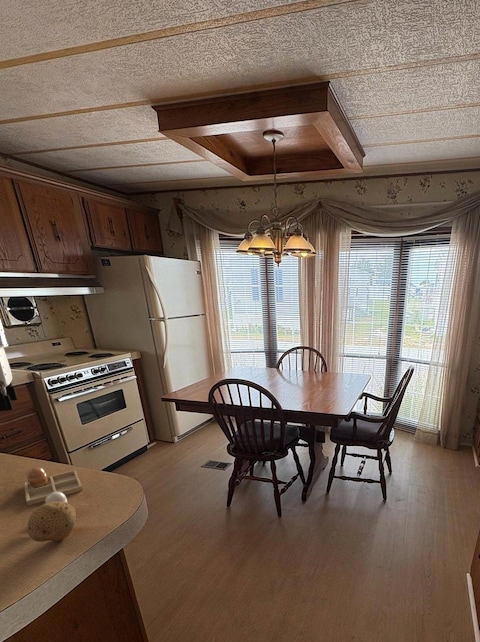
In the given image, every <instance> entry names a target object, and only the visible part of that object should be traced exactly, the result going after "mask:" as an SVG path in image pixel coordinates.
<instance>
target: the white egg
mask: <svg viewBox="0 0 480 642" xmlns="http://www.w3.org/2000/svg"><path fill="white" fill-rule="evenodd" d="M55 501H59V502H64V503H67V504H69V501H68V498H67V495H64V494H63V493H61V492H52V493H50V494H49V495H48V496H47V497H46V499H45V501H44V504H46V503H50V502H55Z"/></svg>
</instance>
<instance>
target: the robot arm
mask: <svg viewBox="0 0 480 642" xmlns="http://www.w3.org/2000/svg"><path fill="white" fill-rule="evenodd" d="M7 347H9V343H8V340H7V337H6V332H5V330H4V327H3V323H2V318H0V412H6V411H12V410H13V409H14V408H13V407H14V406H13V404H12V402H13V401H17V400H18V399H19V398H18V395H17V392H16V389H15V386H14V384H13V382H12V380H13V374H12V370H11V366H10V363H9V360H8V357H7V353H6V350H5V348H7Z"/></svg>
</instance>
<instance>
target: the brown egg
mask: <svg viewBox="0 0 480 642" xmlns="http://www.w3.org/2000/svg"><path fill="white" fill-rule="evenodd" d="M25 477H26V480H27V482H28V483H29V485H30V486H31V487H33V488H34V489H35V488H39V487H43V486H46V484H47V482H48V478H47V477H48V475H47V472H46V470H45V469H44V468H42V467H39V466H35V467H31V468H29V469H28V470H27V472H26V474H25Z"/></svg>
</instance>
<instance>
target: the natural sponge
mask: <svg viewBox="0 0 480 642" xmlns="http://www.w3.org/2000/svg"><path fill="white" fill-rule="evenodd" d="M76 519H77V513H76V510H75V508H74V507H73V506H72V505H71V504H70V503H68V504H67V503H64V502H59V501H55V502H50V503H46V504H45V503H44V504H42V505H40V506H38V507H37V508H35V510H33V511H32V513H31V514H30V515H29V517H28V521H27V534H28V536H29V537H30V538H31V539H32V540H33V541H35V542H41V543H43V542H48V541H49V542H50V541H51V542H59V541H63V540H66V538H67V537H68V536H69V535H70V534H71V533H72V532H73V530H74V528H75V525H76Z"/></svg>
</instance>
